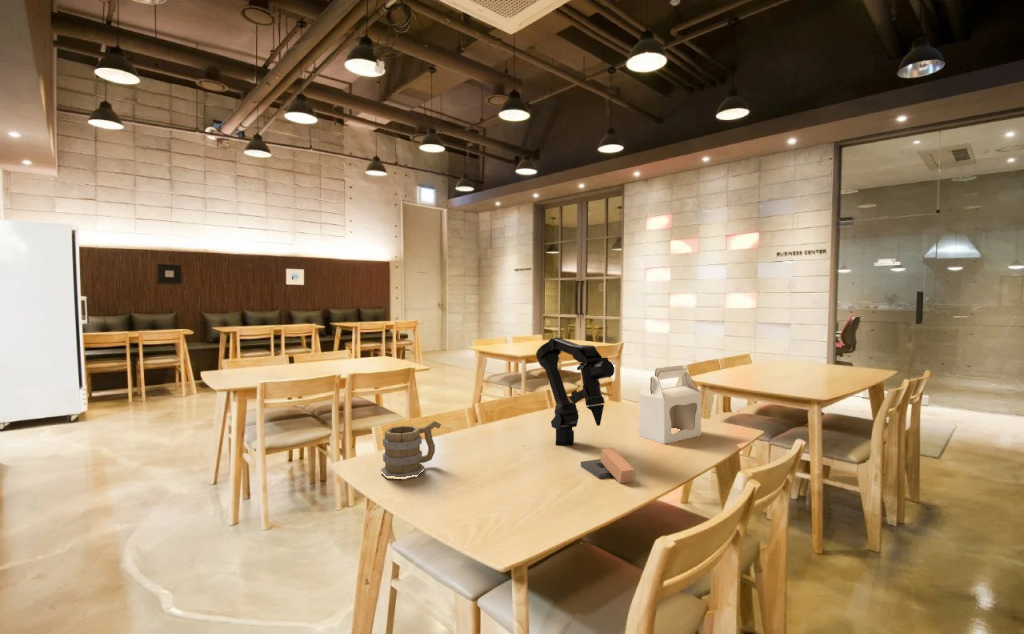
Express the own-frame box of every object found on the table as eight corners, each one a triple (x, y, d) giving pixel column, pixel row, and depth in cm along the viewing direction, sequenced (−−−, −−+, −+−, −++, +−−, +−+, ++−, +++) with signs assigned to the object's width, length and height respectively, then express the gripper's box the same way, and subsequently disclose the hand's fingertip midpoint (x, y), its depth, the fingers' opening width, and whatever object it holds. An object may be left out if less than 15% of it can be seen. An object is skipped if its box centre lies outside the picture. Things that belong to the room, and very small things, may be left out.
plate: (580, 466, 158) (580, 461, 158) (612, 461, 162) (612, 457, 162) (599, 478, 146) (599, 473, 146) (632, 473, 150) (632, 469, 150)
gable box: (664, 444, 181) (664, 371, 180) (637, 436, 192) (637, 367, 191) (701, 435, 192) (701, 366, 191) (674, 428, 204) (674, 363, 203)
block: (601, 449, 152) (621, 471, 141) (613, 448, 153) (634, 469, 143) (600, 461, 153) (619, 483, 142) (611, 459, 155) (632, 481, 144)
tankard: (390, 483, 144) (389, 434, 144) (377, 471, 155) (376, 425, 154) (450, 470, 155) (449, 424, 155) (434, 459, 166) (433, 416, 165)
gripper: (568, 385, 179) (575, 427, 176) (567, 383, 161) (575, 430, 158) (598, 380, 177) (606, 423, 174) (600, 378, 159) (608, 425, 156)
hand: (598, 425), depth 166 cm, fingers closed
